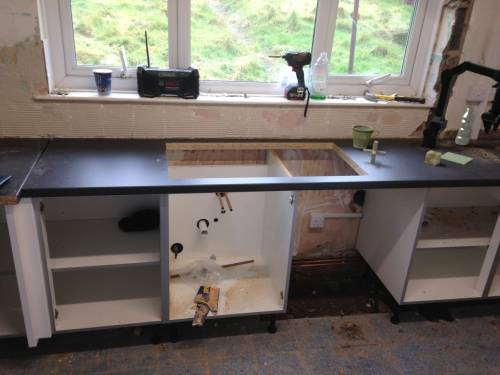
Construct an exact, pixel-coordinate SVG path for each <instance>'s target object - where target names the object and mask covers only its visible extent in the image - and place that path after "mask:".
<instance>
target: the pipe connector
mask: <svg viewBox="0 0 500 375" xmlns="http://www.w3.org/2000/svg"><path fill="white" fill-rule="evenodd" d="M378 144H379V141H377V140H374V141H373V146H372V149H369V148H365V149H362V153H363V154H364V153H365V154H370V155H371V157H370V163H371V164H375V162H376V156H377V155H378V156H383V157H385V156H386V154H387V152H386V151H383V150H382V151H381V150H378V146H379V145H378Z"/></svg>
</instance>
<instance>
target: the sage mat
mask: <svg viewBox="0 0 500 375" xmlns="http://www.w3.org/2000/svg"><path fill="white" fill-rule="evenodd" d="M441 159H443V160H445V161H450V162H453V163H457V164H461V165H463V166H465V165H466V164H467V163H469V162H471V161H473V160H474V158H472V157H469V156H465V155H461V154H457V153H453V152H451V151H448V152H446V153H444V154H442V155H441ZM441 159H440V160H441Z"/></svg>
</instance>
